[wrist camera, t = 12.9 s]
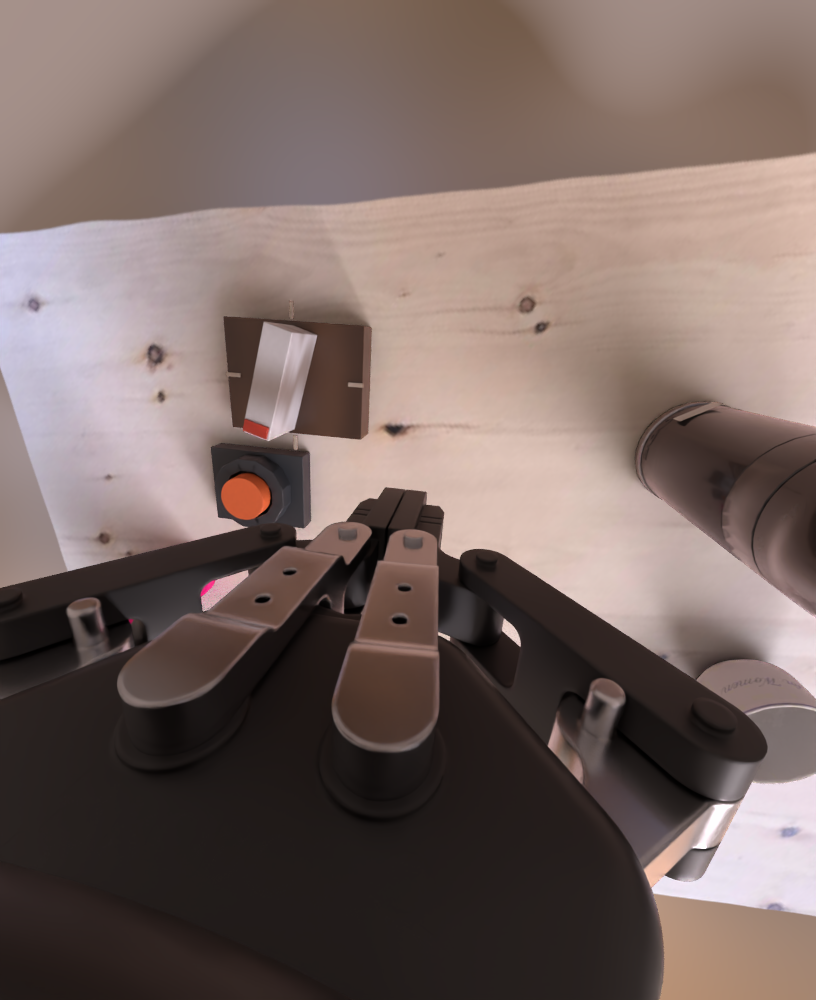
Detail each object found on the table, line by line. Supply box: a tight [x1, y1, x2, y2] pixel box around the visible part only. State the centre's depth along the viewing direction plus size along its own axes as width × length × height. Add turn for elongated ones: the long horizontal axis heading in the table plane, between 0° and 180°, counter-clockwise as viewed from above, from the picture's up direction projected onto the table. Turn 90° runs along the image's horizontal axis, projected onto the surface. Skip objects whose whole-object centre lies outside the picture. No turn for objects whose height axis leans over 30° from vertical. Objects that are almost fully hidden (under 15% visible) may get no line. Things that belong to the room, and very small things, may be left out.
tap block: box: [224, 301, 372, 450], centre depth 39 cm, size 13×13×3 cm
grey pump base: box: [211, 443, 311, 528], centre depth 43 cm, size 10×8×4 cm
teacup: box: [696, 659, 816, 784], centre depth 42 cm, size 14×11×8 cm
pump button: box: [221, 473, 271, 520], centre depth 41 cm, size 4×4×2 cm
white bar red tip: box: [243, 322, 317, 441], centre depth 35 cm, size 9×2×6 cm, turn 161°
